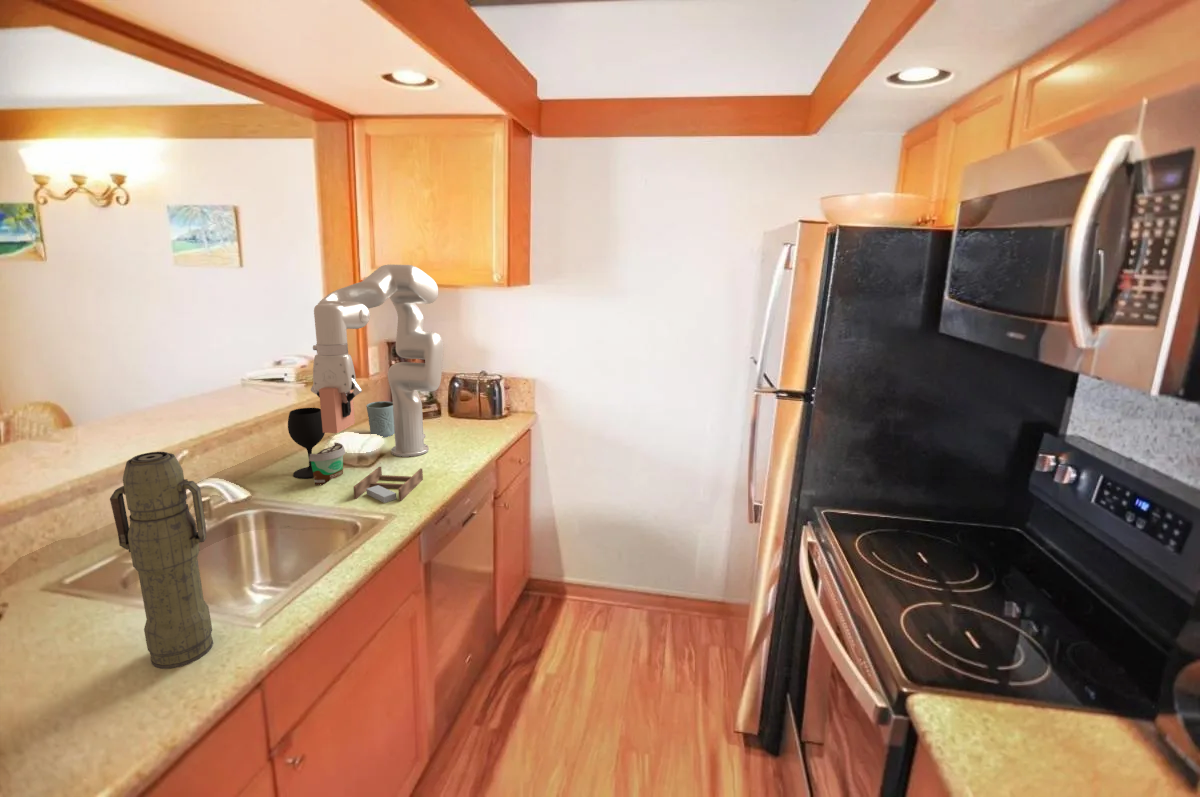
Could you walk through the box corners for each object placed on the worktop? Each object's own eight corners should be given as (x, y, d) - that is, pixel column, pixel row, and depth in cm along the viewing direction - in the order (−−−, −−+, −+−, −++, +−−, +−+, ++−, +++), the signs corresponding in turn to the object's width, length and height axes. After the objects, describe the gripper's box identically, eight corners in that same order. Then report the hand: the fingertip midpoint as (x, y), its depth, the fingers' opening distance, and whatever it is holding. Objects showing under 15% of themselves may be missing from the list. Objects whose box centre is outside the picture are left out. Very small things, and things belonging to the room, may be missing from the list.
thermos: (149, 643, 100) (114, 451, 92) (228, 629, 104) (201, 444, 96) (130, 676, 92) (90, 470, 84) (216, 660, 96) (186, 461, 88)
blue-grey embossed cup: (393, 429, 227) (391, 400, 225) (399, 436, 219) (397, 405, 216) (366, 433, 222) (363, 402, 219) (371, 440, 214) (369, 408, 211)
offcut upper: (378, 491, 164) (378, 485, 163) (396, 499, 158) (396, 493, 158) (366, 494, 161) (366, 488, 161) (384, 503, 156) (384, 497, 155)
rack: (380, 482, 174) (379, 466, 173) (423, 484, 173) (422, 468, 172) (354, 503, 158) (353, 486, 157) (401, 506, 157) (400, 488, 156)
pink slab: (322, 432, 155) (318, 389, 153) (341, 422, 165) (338, 381, 162) (337, 433, 155) (333, 389, 152) (354, 423, 165) (351, 382, 162)
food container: (330, 488, 168) (327, 456, 166) (311, 486, 169) (308, 454, 167) (355, 474, 180) (353, 443, 178) (338, 472, 181) (335, 441, 179)
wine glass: (308, 465, 186) (302, 405, 181) (337, 468, 184) (331, 408, 179) (285, 477, 176) (278, 414, 172) (315, 480, 174) (308, 416, 170)
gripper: (294, 351, 152) (301, 418, 156) (356, 353, 151) (361, 420, 155) (310, 347, 159) (316, 411, 163) (369, 349, 158) (373, 413, 162)
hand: (338, 415), depth 159 cm, fingers closed on pink slab, 4 cm apart
